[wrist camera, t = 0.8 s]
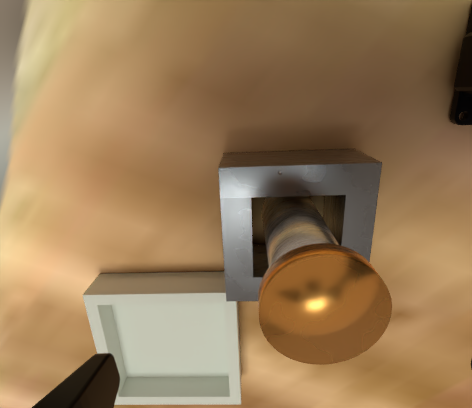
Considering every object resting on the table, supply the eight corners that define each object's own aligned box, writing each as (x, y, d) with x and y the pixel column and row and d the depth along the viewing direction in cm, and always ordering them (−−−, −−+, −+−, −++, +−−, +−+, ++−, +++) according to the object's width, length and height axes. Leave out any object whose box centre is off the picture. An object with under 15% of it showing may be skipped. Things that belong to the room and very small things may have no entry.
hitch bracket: (354, 148, 18) (381, 162, 15) (343, 262, 21) (364, 299, 17) (223, 153, 19) (218, 167, 15) (229, 265, 22) (226, 301, 18)
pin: (324, 176, 19) (400, 256, 10) (320, 241, 21) (383, 363, 11) (251, 178, 19) (258, 258, 10) (252, 243, 21) (259, 364, 12)
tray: (236, 271, 22) (235, 292, 19) (241, 375, 25) (241, 404, 23) (99, 273, 22) (82, 295, 20) (122, 375, 25) (110, 404, 23)
